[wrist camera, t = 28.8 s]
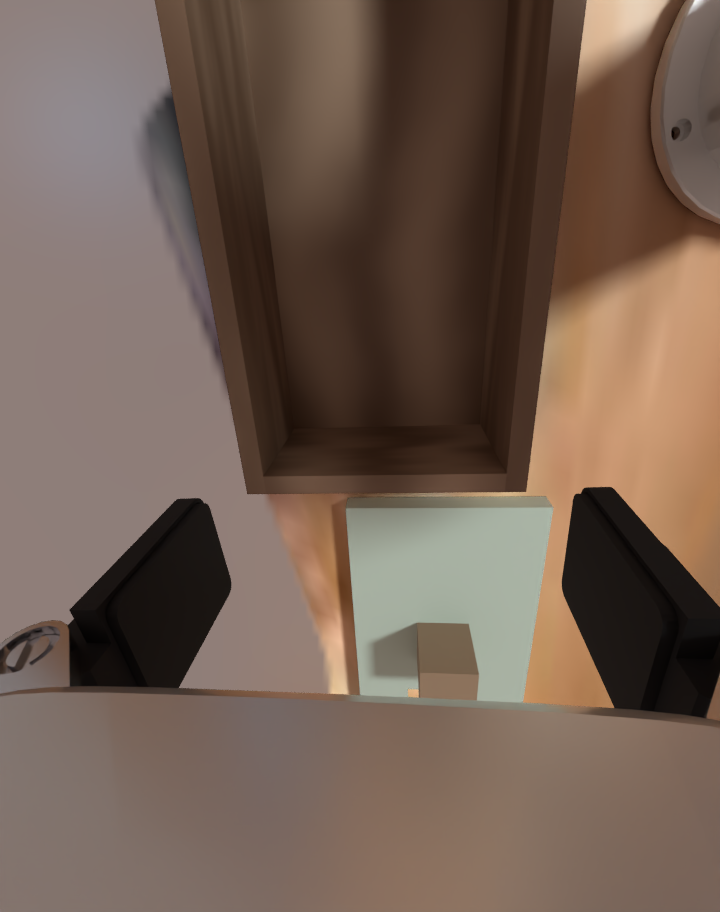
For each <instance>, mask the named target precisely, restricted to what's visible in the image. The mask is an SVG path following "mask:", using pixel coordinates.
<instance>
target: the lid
mask: <svg viewBox="0 0 720 912" xmlns="http://www.w3.org/2000/svg"><path fill="white" fill-rule="evenodd" d="M552 513H553V506H552V505H551V503H550V502H549V500H548V499H547V497H546V496H535V497H376V498H348V499H347V504H346V521H347V534H348V546H349V559H350V572H351V585H352V598H353V610H354V623H355V636H356V649H357V662H358V675H359V687H360V695H367V696H390V697H408V689H419V698H434V699H455V700H476V701H497V702H518V703H523V698H524V692H525V685H526V679H527V672H528V666H529V660H530V653H531V647H532V641H533V634H534V628H535V621H536V615H537V609H538V602H539V596H540V590H541V583H542V577H543V570H544V564H545V558H546V551H547V545H548V539H549V532H550V526H551V519H552Z"/></svg>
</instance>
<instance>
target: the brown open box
mask: <svg viewBox="0 0 720 912" xmlns="http://www.w3.org/2000/svg"><path fill="white" fill-rule="evenodd" d="M586 1H587V0H155V4H156V9H157V15H158V20H159V25H160V31H161V36H162V41H163V47H164V52H165V57H166V63H167V68H168V73H169V79H170V84H171V89H172V95H173V100H174V105H175V111H176V116H177V121H178V127H179V132H180V137H181V143H182V148H183V153H184V159H185V164H186V169H187V175H188V180H189V185H190V191H191V196H192V201H193V207H194V212H195V217H196V223H197V228H198V233H199V239H200V244H201V249H202V255H203V260H204V265H205V271H206V276H207V281H208V287H209V292H210V297H211V303H212V308H213V313H214V319H215V324H216V329H217V335H218V340H219V345H220V351H221V356H222V361H223V367H224V372H225V377H226V383H227V388H228V393H229V399H230V404H231V409H232V415H233V420H234V425H235V431H236V436H237V441H238V447H239V452H240V457H241V462H242V468H243V473H244V479H245V484H246V489H247V494H319V493H441V492H526V488H527V480H528V472H529V464H530V456H531V447H532V439H533V431H534V423H535V415H536V407H537V399H538V391H539V382H540V374H541V366H542V358H543V350H544V342H545V334H546V326H547V318H548V309H549V301H550V293H551V285H552V277H553V269H554V261H555V253H556V244H557V236H558V228H559V220H560V212H561V204H562V196H563V188H564V179H565V171H566V163H567V155H568V147H569V139H570V131H571V123H572V114H573V106H574V98H575V90H576V82H577V74H578V66H579V58H580V50H581V41H582V33H583V25H584V17H585V9H586Z"/></svg>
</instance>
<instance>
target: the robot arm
mask: <svg viewBox="0 0 720 912" xmlns="http://www.w3.org/2000/svg"><path fill="white" fill-rule="evenodd" d="M671 130H673V131H674V133H675V135H674V138H673V139H672V137H671ZM651 139H652V144H653V148H654V153H655V157H656V162H657V165H658V167H659V169H660V171H661V174H662V176H663V178H664V180H665V182H666V184H667V186H668V187H669V189H670V190H671V191H672V192H673V194H674V195H675V196H676V197H677V199H678V200H679V201H680V202H681V203H682V204H683V205H684V206H686V207H687V208H689V209H690V210H691V211H693V212H694V213H695V214H697V215H698V216H700V217H703V218H705V219H708V220H710V221H713V222H715V223H718V224H720V0H686V1H685V2H684V4H683V5H682V7H681V9H680V11H679V13H678V15H677V18H676V20H675V22H674V24H673V26H672V29H671V31H670V33H669V35H668V38H667V40H666V42H665V45H664V48H663V52H662V55H661V58H660V62H659V65H658V69H657V72H656V75H655V81H654V88H653V95H652V102H651ZM230 590H231V579H230V575H229V572H228V568H227V565H226V562H225V558H224V555H223V552H222V548H221V545H220V541H219V538H218V534H217V531H216V527H215V524H214V521H213V517H212V514H211V511H210V508H209V506H208V505H207V504H206V503H205V504H204V503H203V501H202V500H201V499H199V498H192V499H177V500H176V501H175V502H174V503H173V504H172V505H171V506H170V507H169V508H168V509H167V510H166V511H165V512H164V513H163V514H162V515H161V516H160V517H159V518H158V519H157V520H156V521H155V522H154V523H153V524H152V525H151V526H150V528H148V529H147V531H146V532H145V533H144V534H143V535H142V536H141V537H140V538H139V539H138V540H137V541H136V542H135V543H134V544H133V545H132V546H131V547H130V548H129V549H128V550H127V551H126V552H125V553H124V554H123V555H122V556H121V558H119V559H118V560H117V562H116V563H115V564H114V565H113V566H112V567H111V568H110V569H109V570H108V571H107V572H106V573H105V574H104V575H103V576H102V577H101V578H100V579H99V580H98V581H97V582H96V583H95V584H94V585H93V586H92V587H91V588H90V589H89V590H88V591H87V593H85V594H84V596H83V597H81V599H80V600H79V601H78V602H77V603H76V604H75V605H74V606H73V607H72V608H71V609H70V612H71V614H72V616H73V617H74V620H73V621H72V622H71V623H70V624H69V625H68V626H67V624H65V623H64V622H62V621H56V620H51V621H44V622H40V623H37V624H34V625H31V626H29V627H26V628H25V629H22V630H20V631H19V632H16V633H15V634H13V635H12V636H11V637H9V638H7V639H6V640H4V641H3V642H2V643H1V644H0V912H720V607H719V606H718V605H717V604H716V603H715V602H714V600H713V599H712V598H711V597H710V596H709V595H708V594H707V592H706V591H705V590H704V589H703V588H702V587H701V586H700V585H699V583H698V582H697V581H696V580H695V579H694V578H693V577H692V575H691V574H690V573H689V572H688V571H687V570H686V569H685V568H684V566H683V565H682V564H681V563H680V562H679V561H678V560H677V558H676V557H675V556H674V555H673V554H672V553H671V552H670V551H669V549H668V548H667V547H666V546H664V545H663V544H662V543H661V542H660V541H659V540H658V539H657V538H656V536H655V535H654V534H653V533H652V532H651V531H650V530H649V528H648V527H647V526H646V525H645V524H644V523H643V522H642V520H641V519H640V518H639V517H638V516H637V515H636V514H635V512H634V511H633V510H632V509H631V508H630V507H629V506H628V504H627V503H626V502H625V501H624V500H623V499H622V498H621V497H620V495H619V494H618V493H617V492H616V491H615V490H614V489H613V488H612V487H592V488H584V489H583V490H582V492H581V494H576V495H575V496H574V499H573V505H572V512H571V519H570V527H569V534H568V541H567V548H566V555H565V562H564V570H563V577H562V590H563V594H564V597H565V599H566V601H567V604H568V606H569V608H570V610H571V612H572V615H573V617H574V619H575V621H576V624H577V626H578V628H579V630H580V632H581V635H582V637H583V639H584V641H585V643H586V646H587V648H588V650H589V652H590V655H591V657H592V659H593V661H594V663H595V666H596V668H597V670H598V672H599V674H600V677H601V679H602V681H603V683H604V685H605V688H606V690H607V692H608V694H609V697H610V699H611V701H612V703H613V705H614V708H602V707H586V706H571V705H555V704H539V703H518V702H497V701H476V700H455V699H434V698H413V697H390V696H367V695H344V694H320V693H296V692H294V693H293V692H270V691H244V690H216V689H189V688H187V689H186V688H179V686H180V684H181V682H182V681H183V679H184V677H185V675H186V673H187V671H188V670H189V668H190V666H191V664H192V662H193V660H194V658H195V657H196V655H197V653H198V651H199V649H200V647H201V646H202V644H203V642H204V640H205V638H206V636H207V634H208V633H209V631H210V628H211V627H212V625H213V623H214V621H215V620H216V618H217V616H218V614H219V612H220V610H221V609H222V607H223V605H224V603H225V601H226V599H227V597H228V596H229V593H230Z"/></svg>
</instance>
